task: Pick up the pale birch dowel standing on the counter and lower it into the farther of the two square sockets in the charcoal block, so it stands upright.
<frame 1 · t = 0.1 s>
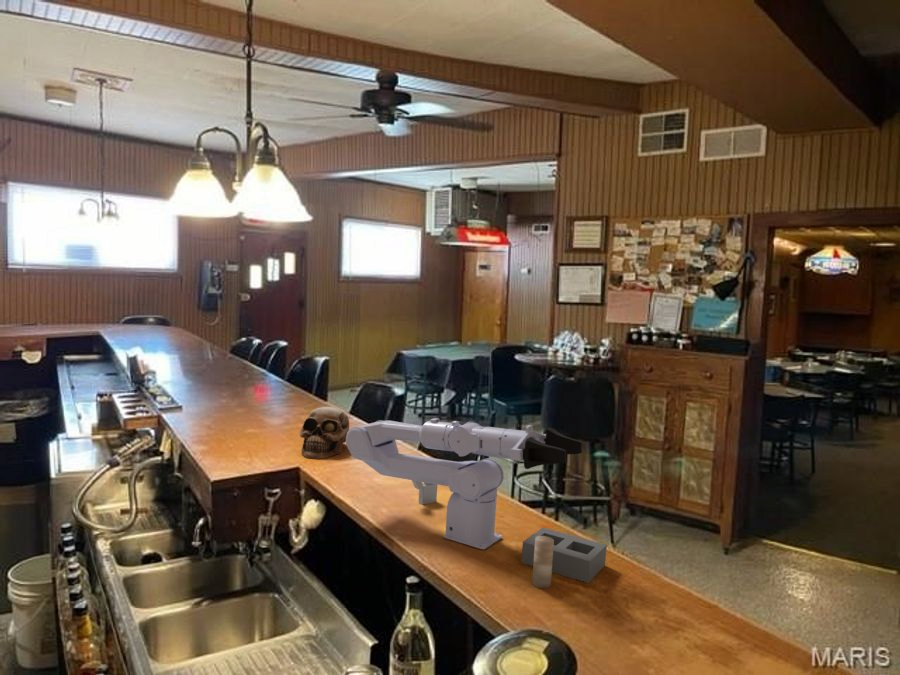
hand: (573, 452, 118), 22 cm above the bar counter, tool horizontal, fingers open, 7 cm apart
socket block: (563, 563, 121), on the bar counter
lighter: (422, 503, 149), on the bar counter
dowel: (541, 584, 112), on the bar counter
brown skull: (324, 450, 189), on the bar counter
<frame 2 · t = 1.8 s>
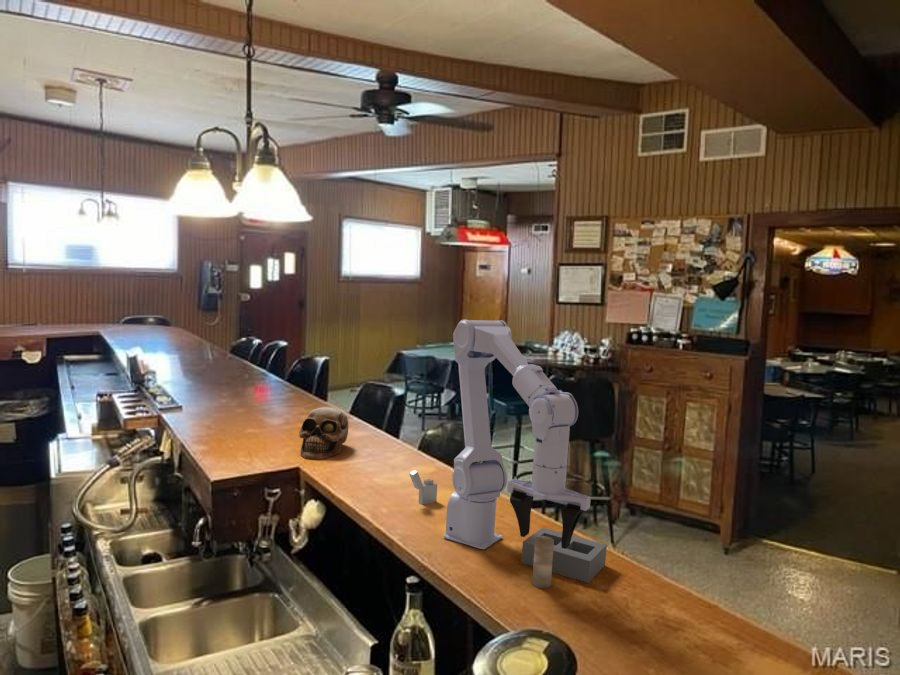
hand: (544, 540, 112), 8 cm above the bar counter, tool pointing down, fingers open, 7 cm apart
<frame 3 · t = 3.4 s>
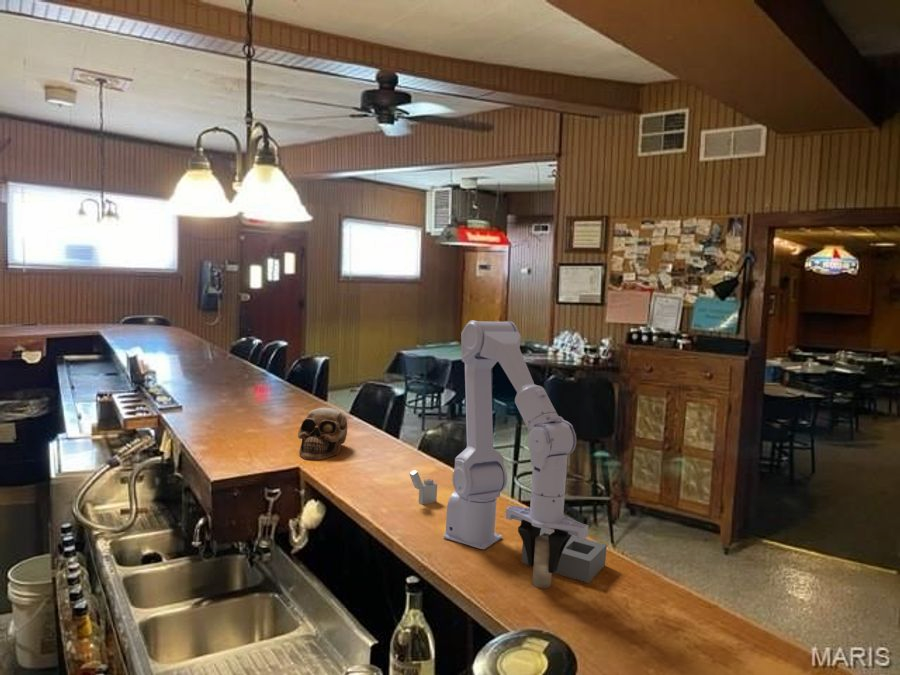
hand: (542, 567, 112), 3 cm above the bar counter, tool pointing down, fingers closed on dowel, 3 cm apart
dowel: (541, 584, 112), on the bar counter, touching gripper
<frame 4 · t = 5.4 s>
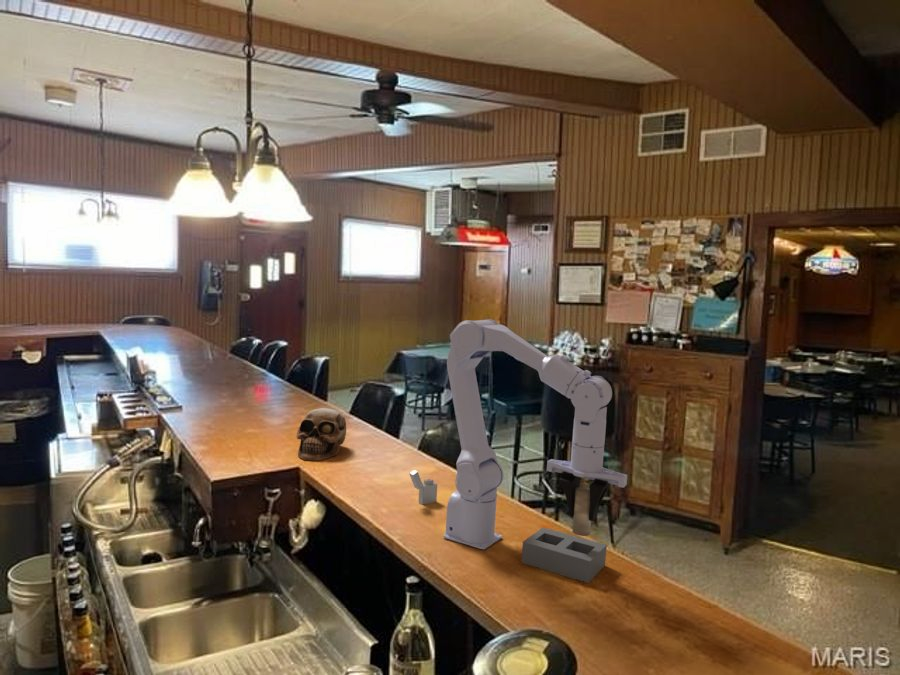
hand: (582, 516, 118), 10 cm above the bar counter, tool pointing down, fingers closed on dowel, 3 cm apart
dowel: (581, 532, 119), point 7 cm above the bar counter, touching gripper
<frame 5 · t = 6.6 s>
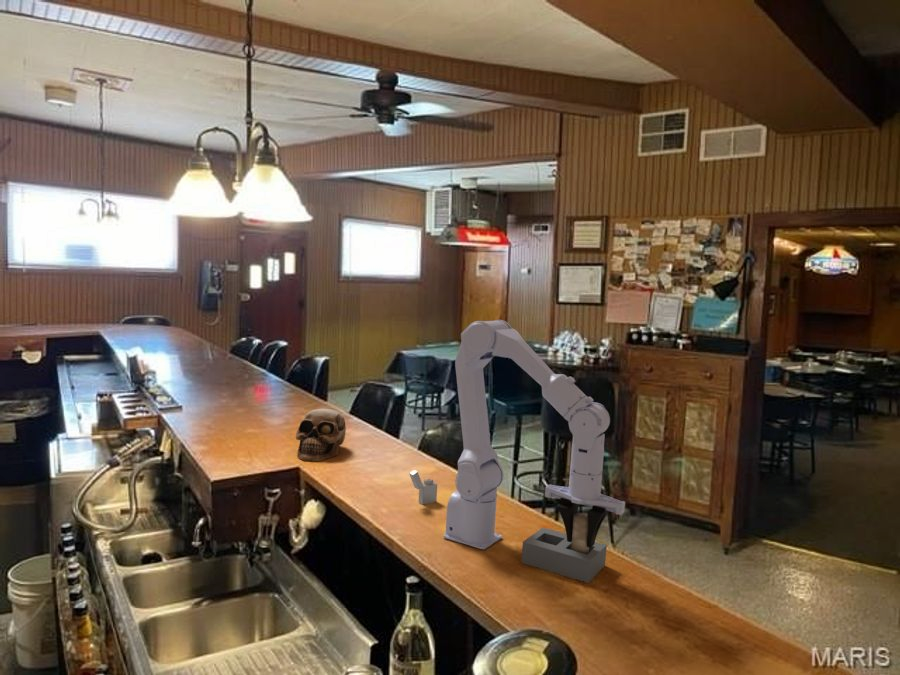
hand: (580, 542, 119), 5 cm above the bar counter, tool pointing down, fingers closed on dowel, 3 cm apart
dowel: (579, 558, 119), point 2 cm above the bar counter, touching gripper
when the fingers open (5 cm above the bar counter, at t = 7.5 s): dowel stays where it is, resting on socket block.
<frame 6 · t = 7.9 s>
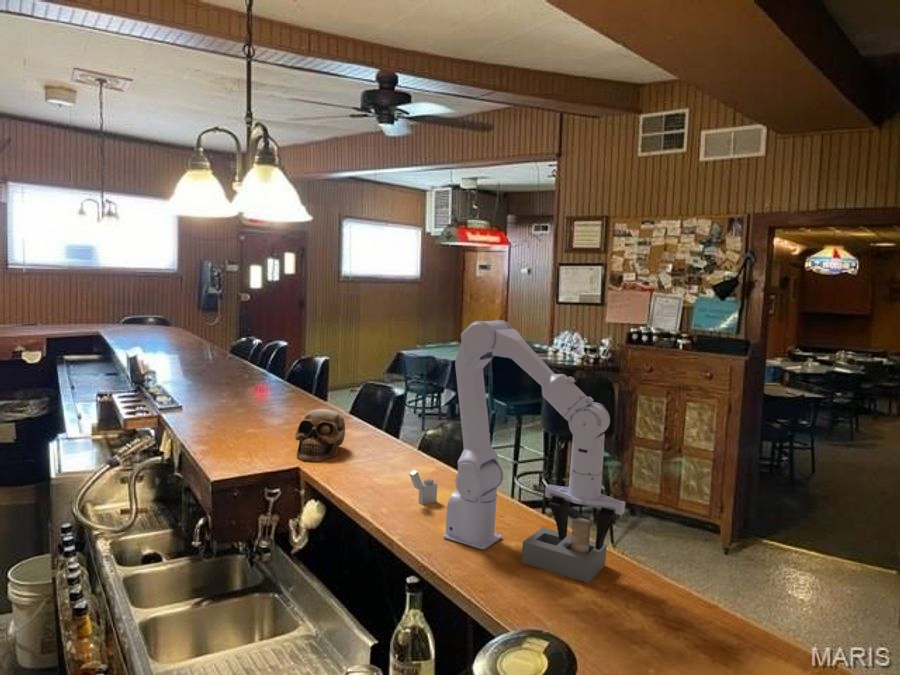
hand: (580, 542, 119), 5 cm above the bar counter, tool pointing down, fingers open, 6 cm apart
dowel: (578, 563, 119), point 1 cm above the bar counter, touching socket block
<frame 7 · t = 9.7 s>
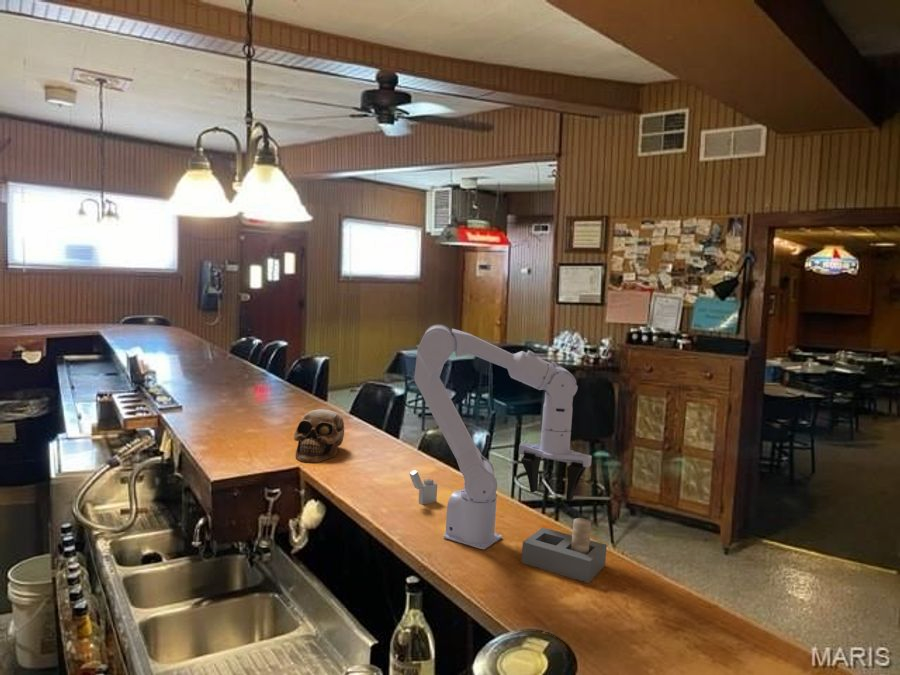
hand: (551, 495, 129), 10 cm above the bar counter, tool pointing down, fingers open, 7 cm apart
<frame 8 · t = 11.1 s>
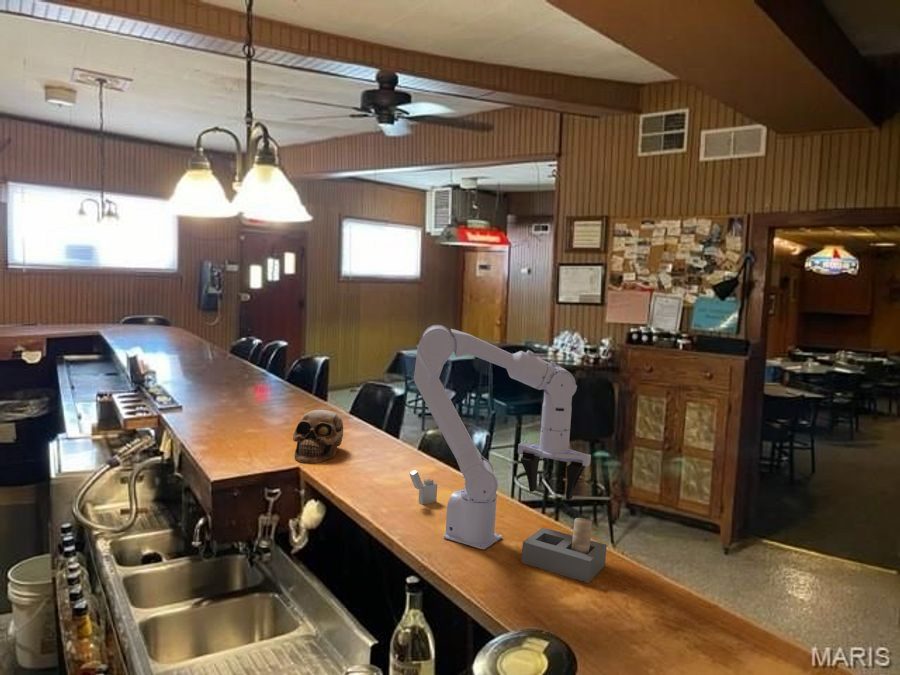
hand: (550, 494, 130), 10 cm above the bar counter, tool pointing down, fingers open, 7 cm apart
at the end: dowel 0.1 cm from the target spot on the socket block, point 1.1 cm above the socket block's base; dowel tilted 2°; the gripper is holding nothing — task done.
